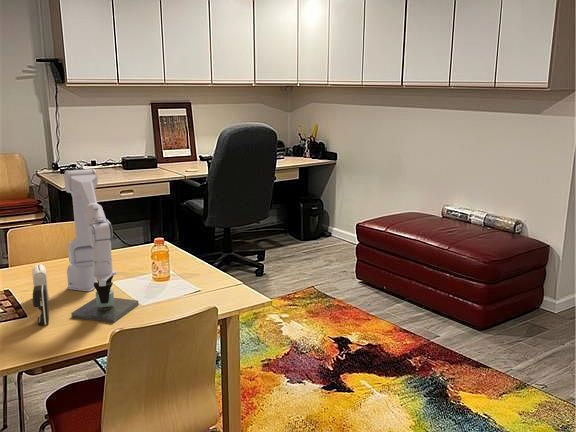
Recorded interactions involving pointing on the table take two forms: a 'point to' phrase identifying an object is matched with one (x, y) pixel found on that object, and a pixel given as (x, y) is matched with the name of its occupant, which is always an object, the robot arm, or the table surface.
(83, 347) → the table surface
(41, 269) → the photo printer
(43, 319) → the battery charger
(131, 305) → the hub plate
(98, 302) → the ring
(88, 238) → the robot arm
